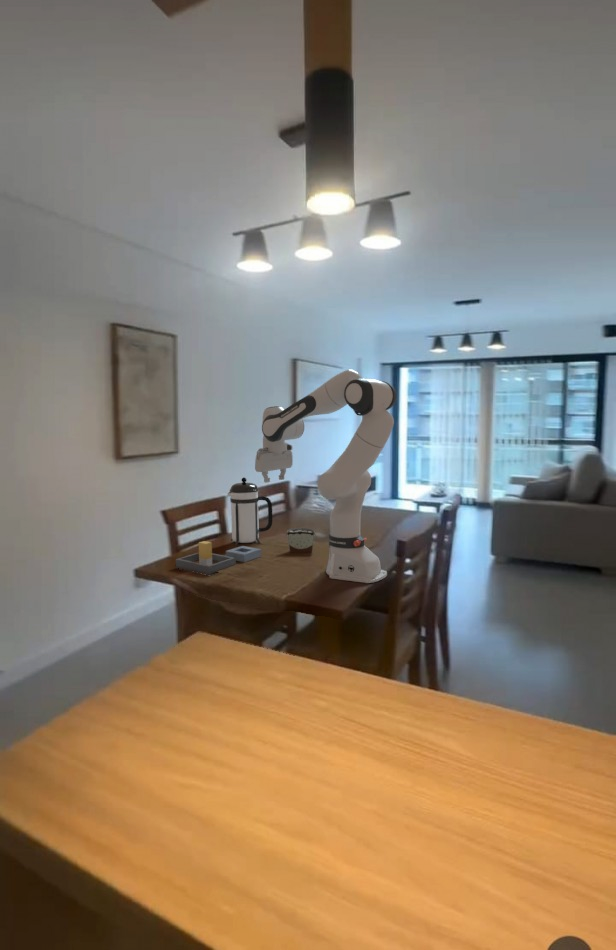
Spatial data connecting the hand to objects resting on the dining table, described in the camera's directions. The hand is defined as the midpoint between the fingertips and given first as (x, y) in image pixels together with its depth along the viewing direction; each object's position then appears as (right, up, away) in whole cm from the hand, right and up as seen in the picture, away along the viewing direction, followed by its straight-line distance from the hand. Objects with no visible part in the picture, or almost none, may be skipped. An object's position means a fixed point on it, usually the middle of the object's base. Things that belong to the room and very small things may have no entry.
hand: (274, 481), depth 223 cm
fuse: (-26, -32, -12) cm, 43 cm away
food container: (+11, -30, +8) cm, 33 cm away
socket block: (-12, -32, -2) cm, 34 cm away
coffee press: (-13, -29, +26) cm, 41 cm away
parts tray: (-26, -33, -12) cm, 44 cm away
